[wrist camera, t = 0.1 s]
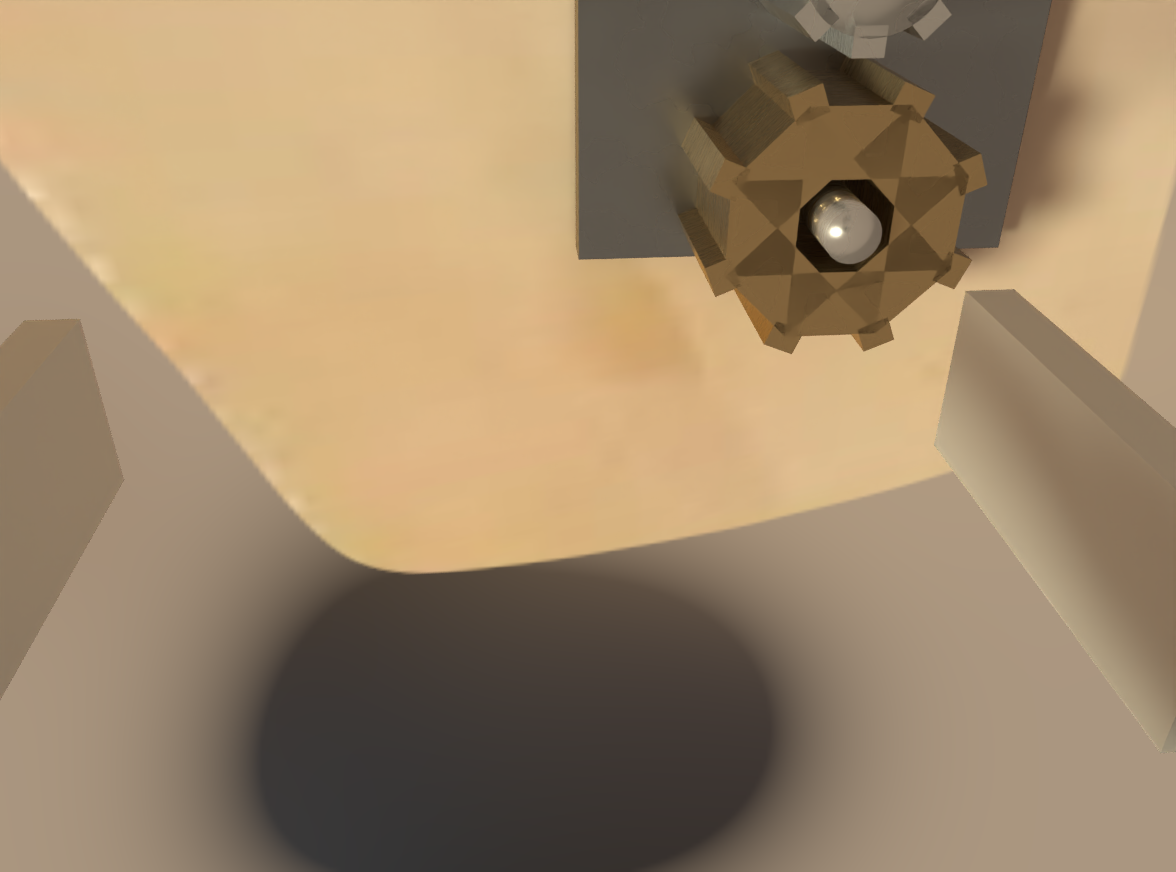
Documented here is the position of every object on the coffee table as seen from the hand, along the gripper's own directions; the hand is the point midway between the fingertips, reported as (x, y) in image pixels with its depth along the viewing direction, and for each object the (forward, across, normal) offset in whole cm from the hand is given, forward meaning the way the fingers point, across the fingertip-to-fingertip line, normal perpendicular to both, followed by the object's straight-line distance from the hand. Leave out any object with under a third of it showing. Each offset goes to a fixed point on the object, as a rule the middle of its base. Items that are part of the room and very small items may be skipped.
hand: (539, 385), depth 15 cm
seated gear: (+26, +12, -5) cm, 29 cm away
